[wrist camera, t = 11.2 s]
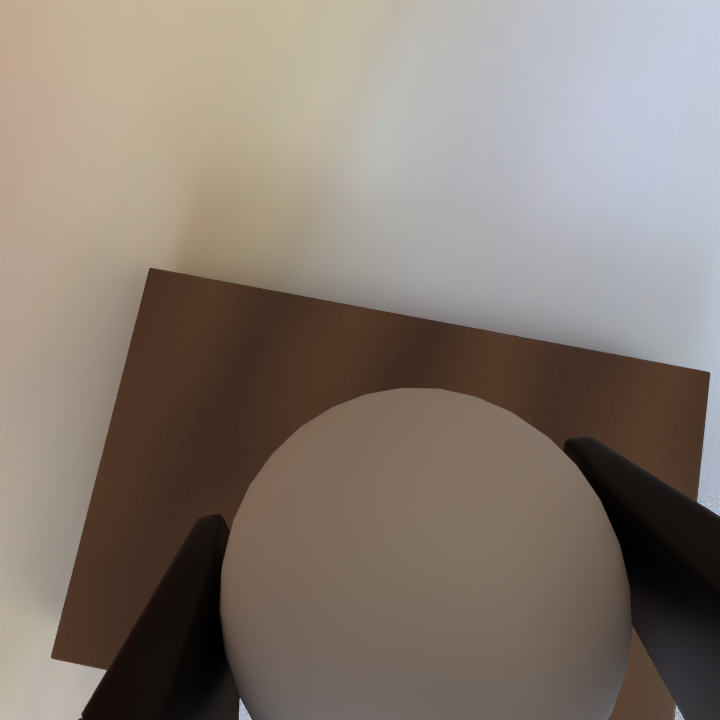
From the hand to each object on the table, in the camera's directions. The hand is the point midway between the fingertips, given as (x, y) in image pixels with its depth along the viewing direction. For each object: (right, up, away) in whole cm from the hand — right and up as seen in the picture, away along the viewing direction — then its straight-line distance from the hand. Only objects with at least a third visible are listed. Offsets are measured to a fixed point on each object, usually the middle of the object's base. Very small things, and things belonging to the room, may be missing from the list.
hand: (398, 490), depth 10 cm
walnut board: (0, -3, +9) cm, 9 cm away
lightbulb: (0, -2, +7) cm, 7 cm away
